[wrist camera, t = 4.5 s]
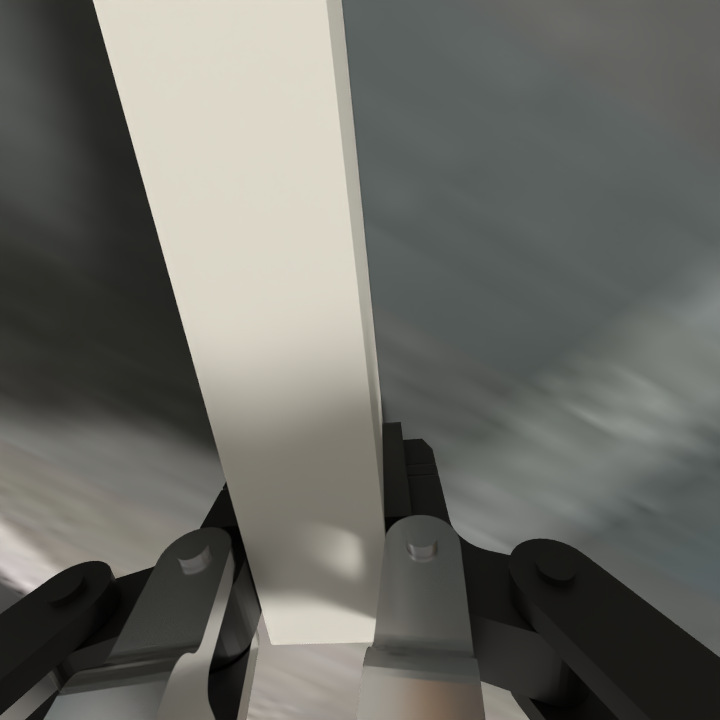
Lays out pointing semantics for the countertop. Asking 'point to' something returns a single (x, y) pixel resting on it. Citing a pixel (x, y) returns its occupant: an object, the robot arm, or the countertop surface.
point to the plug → (268, 282)
